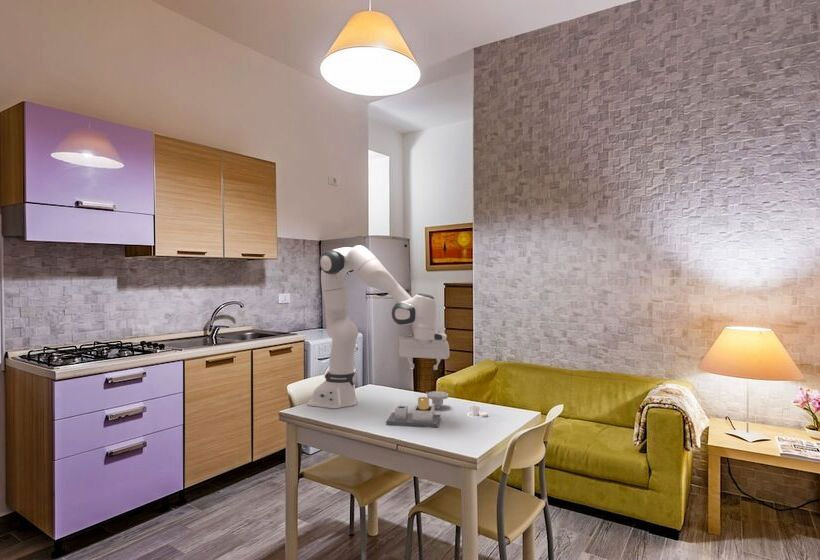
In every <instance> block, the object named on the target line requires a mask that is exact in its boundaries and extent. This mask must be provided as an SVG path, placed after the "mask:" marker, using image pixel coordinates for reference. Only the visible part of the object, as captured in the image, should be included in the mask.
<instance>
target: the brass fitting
mask: <svg viewBox="0 0 820 560" xmlns="http://www.w3.org/2000/svg"><path fill="white" fill-rule="evenodd" d="M417 405H418V410H423V411H429V406H430V398H428V397H427V396H419V397H417Z"/></svg>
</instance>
